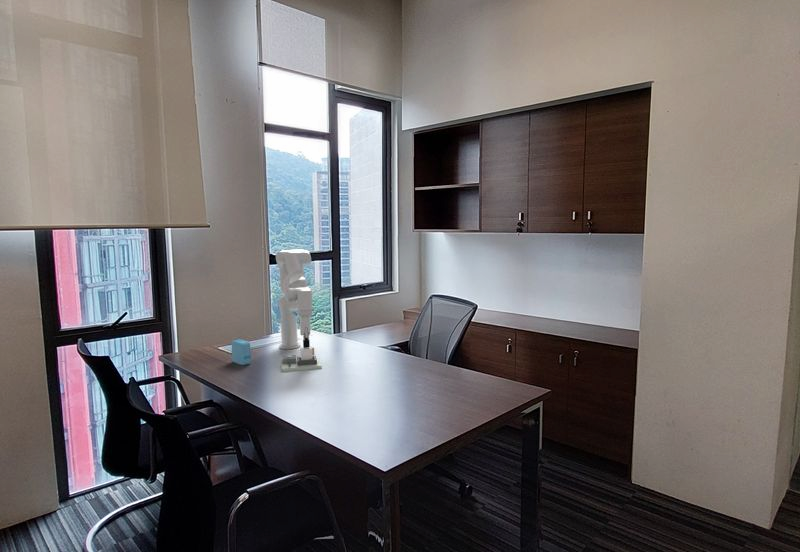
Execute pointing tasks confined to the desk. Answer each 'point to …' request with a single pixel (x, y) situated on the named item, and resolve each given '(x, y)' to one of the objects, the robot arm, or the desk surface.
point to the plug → (307, 353)
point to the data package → (241, 352)
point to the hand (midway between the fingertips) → (306, 347)
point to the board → (299, 363)
